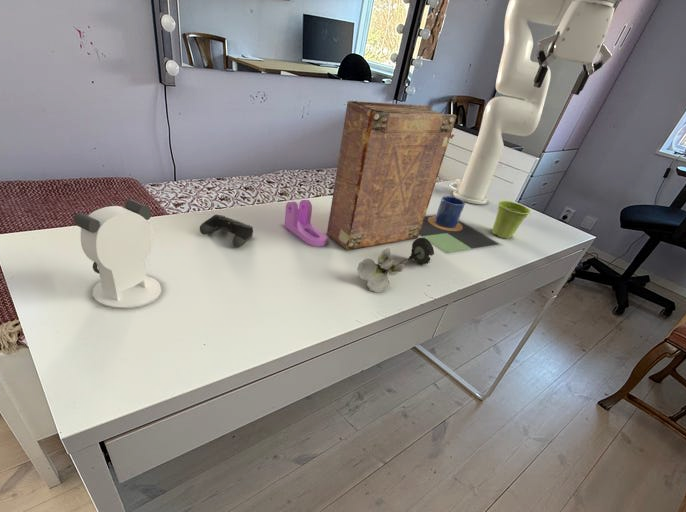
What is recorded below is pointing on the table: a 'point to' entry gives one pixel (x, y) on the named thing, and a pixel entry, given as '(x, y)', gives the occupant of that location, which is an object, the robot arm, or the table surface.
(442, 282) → the table surface
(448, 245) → the desk mat
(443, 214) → the blue cup
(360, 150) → the book
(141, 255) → the white rounded piece
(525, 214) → the plant pot
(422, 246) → the artificial flower
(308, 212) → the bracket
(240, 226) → the gaming controller
